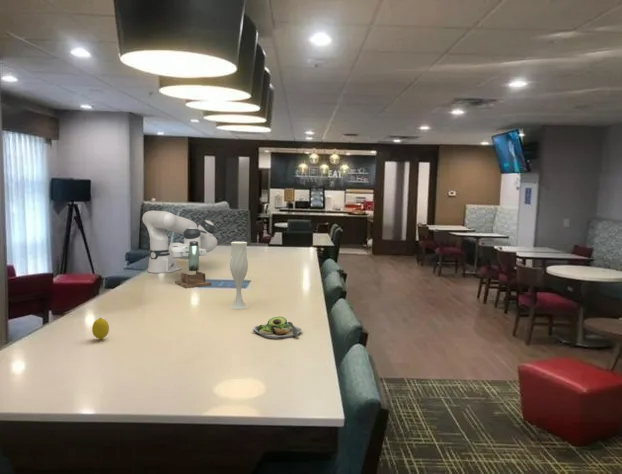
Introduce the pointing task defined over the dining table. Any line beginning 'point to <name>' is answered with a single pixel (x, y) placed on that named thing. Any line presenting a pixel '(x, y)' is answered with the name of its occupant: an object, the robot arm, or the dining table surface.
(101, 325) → the lemon
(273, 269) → the dining table surface
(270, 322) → the salad plate
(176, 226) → the robot arm
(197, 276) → the u rest
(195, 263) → the flask
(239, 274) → the vase
